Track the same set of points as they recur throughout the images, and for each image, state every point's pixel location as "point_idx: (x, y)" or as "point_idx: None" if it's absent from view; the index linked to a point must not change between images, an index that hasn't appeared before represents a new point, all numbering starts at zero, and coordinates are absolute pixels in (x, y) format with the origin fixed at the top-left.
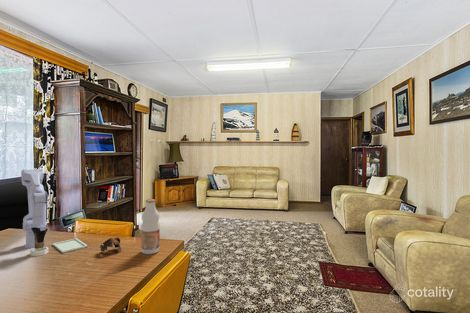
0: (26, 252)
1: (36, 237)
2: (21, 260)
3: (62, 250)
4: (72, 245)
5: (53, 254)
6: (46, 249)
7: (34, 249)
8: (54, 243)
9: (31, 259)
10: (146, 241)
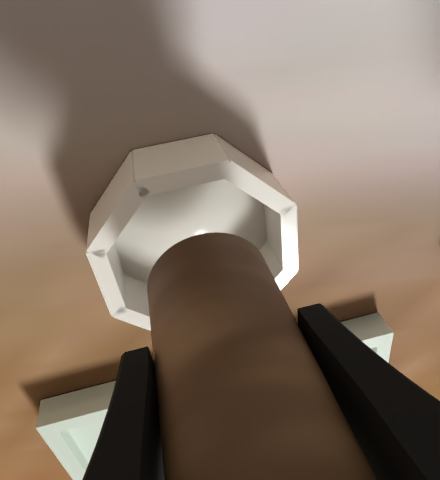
0: (384, 88)
1: (185, 432)
2: (43, 22)
3: (73, 423)
4: None
5: (88, 339)
6: (144, 327)
7: (267, 205)
8: (374, 344)
9: (19, 152)
10: None
